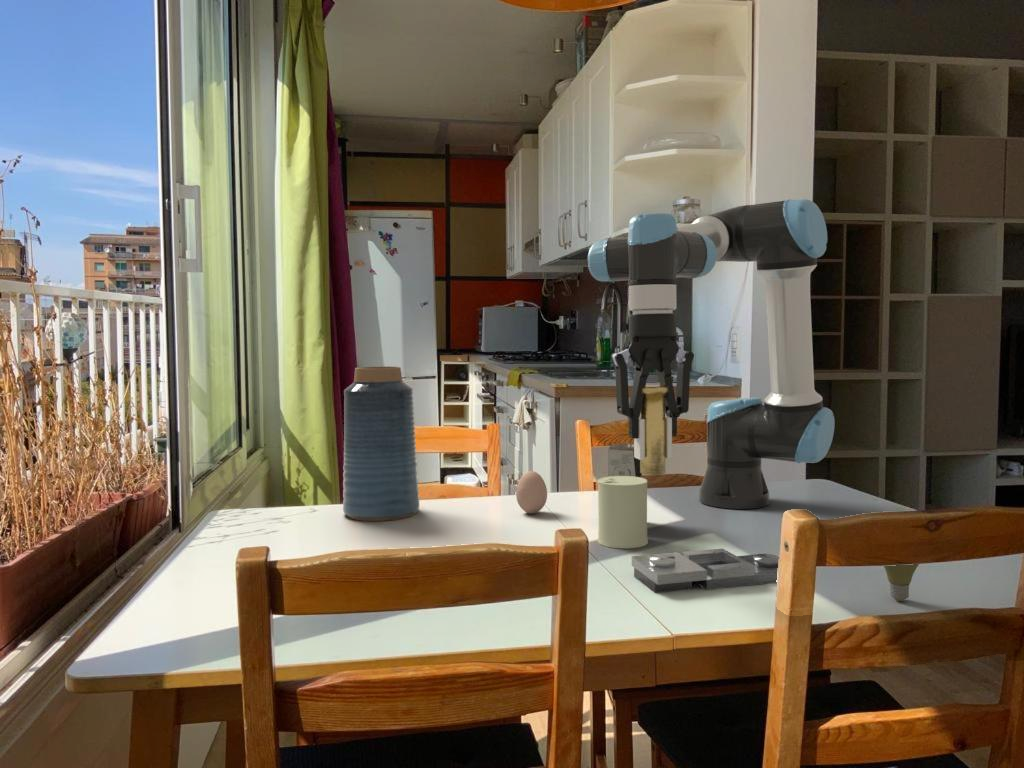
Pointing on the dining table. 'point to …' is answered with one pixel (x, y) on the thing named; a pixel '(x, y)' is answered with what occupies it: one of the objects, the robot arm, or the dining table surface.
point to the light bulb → (900, 580)
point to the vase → (379, 446)
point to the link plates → (704, 570)
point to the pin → (654, 429)
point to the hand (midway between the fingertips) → (652, 457)
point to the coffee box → (623, 461)
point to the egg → (531, 492)
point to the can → (622, 512)
